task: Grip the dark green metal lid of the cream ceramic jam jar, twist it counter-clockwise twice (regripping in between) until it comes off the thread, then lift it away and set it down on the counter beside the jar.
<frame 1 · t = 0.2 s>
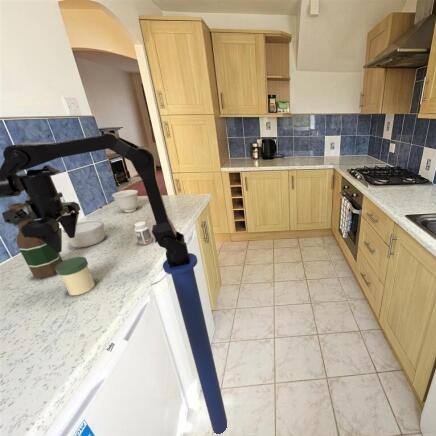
hand: (66, 244, 70), 13 cm above the countertop, tool pointing down, fingers open, 9 cm apart
pill bottle: (145, 242, 99), on the countertop
jam jar: (82, 288, 73), on the countertop
jar lid: (71, 264, 69), point 8 cm above the countertop, screwed on, not yet turned
beer bottle: (50, 272, 81), on the countertop
ramekin: (89, 241, 101), on the countertop
teacup: (130, 210, 134), on the countertop
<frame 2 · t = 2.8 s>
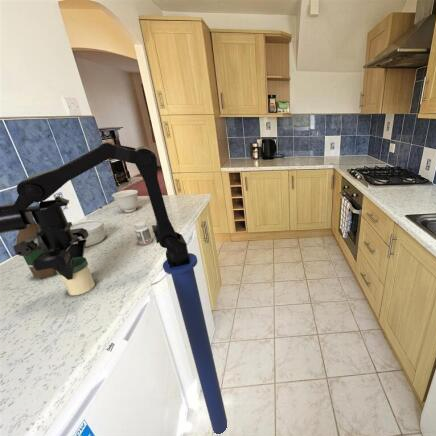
hand: (75, 272, 70), 6 cm above the countertop, tool pointing down, fingers closed on jar lid, 6 cm apart
jar lid: (71, 264, 69), point 8 cm above the countertop, screwed on, not yet turned, touching gripper
everything else where it was.
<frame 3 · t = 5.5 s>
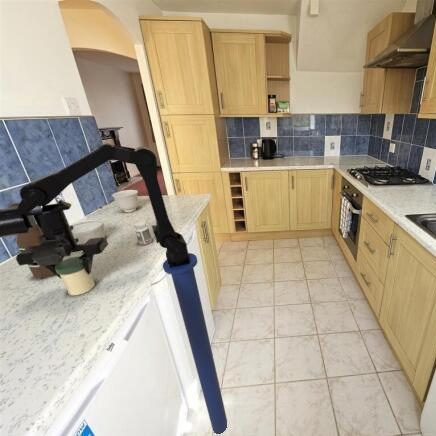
hand: (76, 275, 71), 5 cm above the countertop, tool pointing down, fingers closed on jar lid, 6 cm apart
jam jar: (82, 288, 73), on the countertop, touching gripper
jar lid: (71, 263, 69), point 9 cm above the countertop, turned 84° so far, risen 0.2 cm, still on its thread, touching gripper
everything else where it was.
when the fingers open (4 cm above the countertop, at t = 7.2 s): jar lid stays where it is, point 9 cm above the countertop.
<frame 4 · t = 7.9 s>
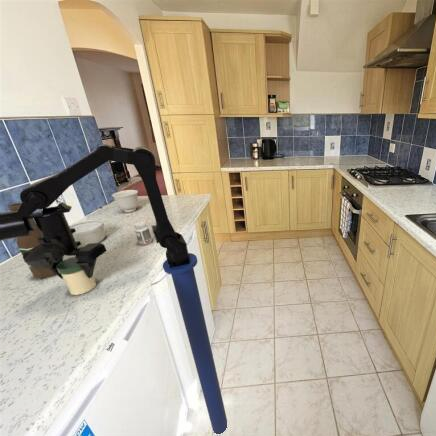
hand: (77, 277, 71), 4 cm above the countertop, tool pointing down, fingers open, 8 cm apart
jam jar: (83, 287, 73), on the countertop
jar lid: (72, 263, 69), point 9 cm above the countertop, turned 84° so far, risen 0.2 cm, still on its thread
everything else where it was.
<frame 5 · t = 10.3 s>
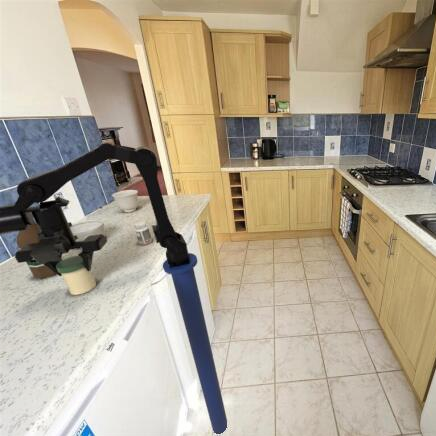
hand: (75, 272, 70), 6 cm above the countertop, tool pointing down, fingers closed on jar lid, 6 cm apart
jam jar: (83, 287, 73), on the countertop, touching gripper
jar lid: (72, 262, 69), point 9 cm above the countertop, off its thread, touching gripper
everything else where it was.
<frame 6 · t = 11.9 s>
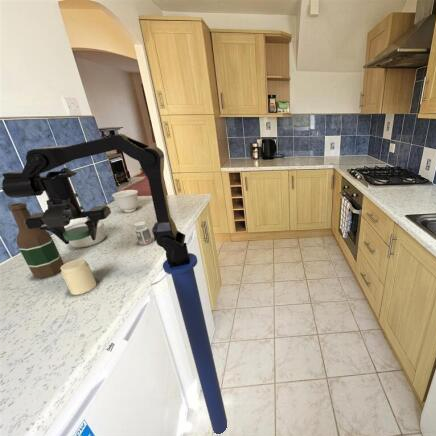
hand: (81, 241, 75), 12 cm above the countertop, tool pointing down, fingers closed on jar lid, 6 cm apart
jam jar: (83, 287, 73), on the countertop
jar lid: (77, 231, 74), point 15 cm above the countertop, off its thread, touching gripper
everything else where it was.
when the fingers open (1 cm above the countertop, at t = 15.2 s): jar lid drops 3 cm, point 1 cm above the countertop.
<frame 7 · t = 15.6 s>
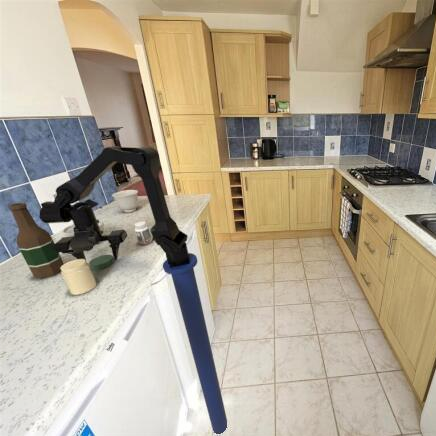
hand: (101, 261, 84), 1 cm above the countertop, tool pointing down, fingers open, 9 cm apart
jar lid: (101, 260, 84), point 1 cm above the countertop, off its thread
everything else where it was.
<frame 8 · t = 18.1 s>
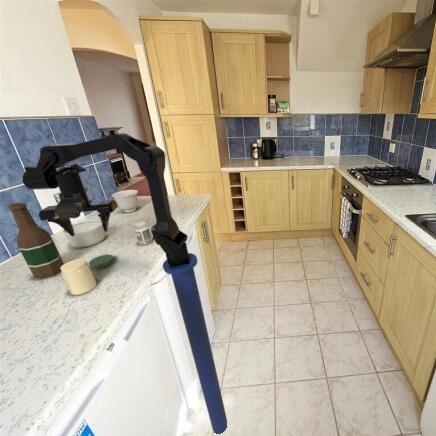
hand: (90, 233, 80), 12 cm above the countertop, tool pointing down, fingers open, 9 cm apart
nothing on the countertop moved.
at the end: the gripper is holding nothing; jar lid point 1.3 cm above the countertop; jar lid inside the target area (0.4 cm from its centre), point 1.3 cm above the countertop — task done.
